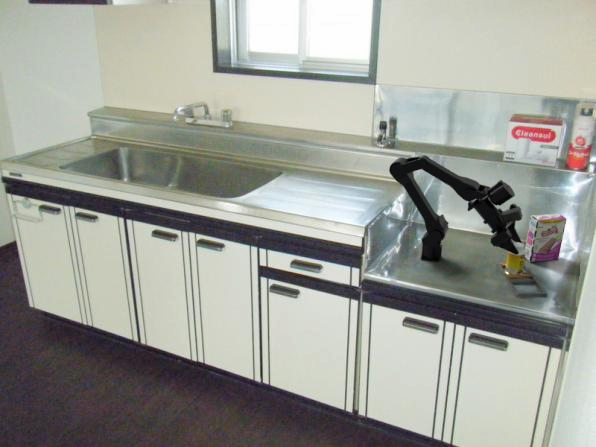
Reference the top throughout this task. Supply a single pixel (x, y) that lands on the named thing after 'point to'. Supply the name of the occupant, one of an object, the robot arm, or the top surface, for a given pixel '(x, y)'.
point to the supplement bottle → (516, 260)
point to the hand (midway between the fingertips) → (519, 248)
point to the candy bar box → (544, 237)
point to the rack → (522, 281)
